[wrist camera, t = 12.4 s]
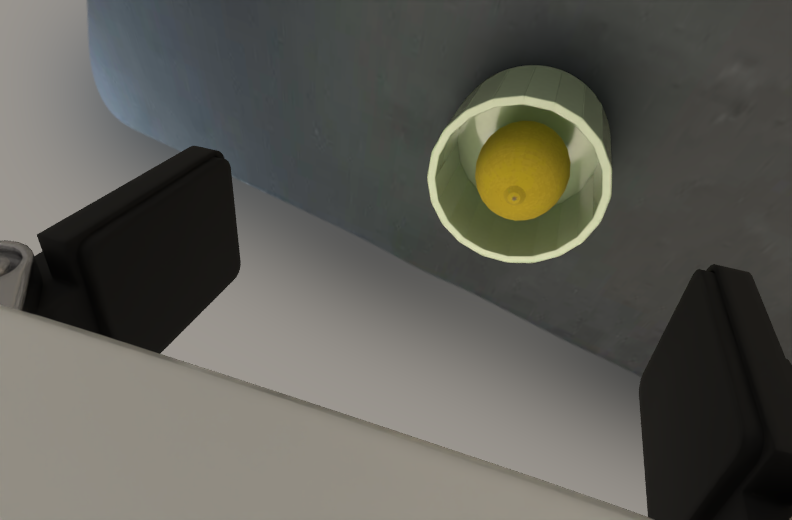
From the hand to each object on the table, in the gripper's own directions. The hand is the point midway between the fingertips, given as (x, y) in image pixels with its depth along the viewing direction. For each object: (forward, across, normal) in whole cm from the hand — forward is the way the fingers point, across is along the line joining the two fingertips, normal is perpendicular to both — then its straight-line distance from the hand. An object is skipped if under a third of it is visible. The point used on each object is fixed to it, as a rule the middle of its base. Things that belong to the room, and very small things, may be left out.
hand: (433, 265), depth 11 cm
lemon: (+26, -1, +7) cm, 27 cm away
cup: (+26, 0, +7) cm, 27 cm away
